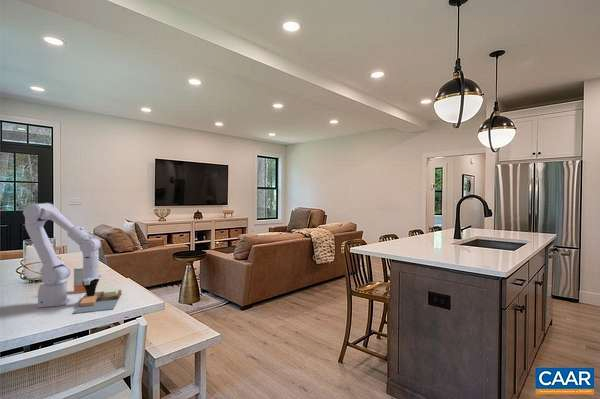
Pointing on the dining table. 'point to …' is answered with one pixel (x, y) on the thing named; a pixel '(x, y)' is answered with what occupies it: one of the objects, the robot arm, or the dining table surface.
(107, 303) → the mat
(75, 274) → the skincare box
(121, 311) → the dining table surface
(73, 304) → the dining table surface
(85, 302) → the tile terracotta
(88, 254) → the robot arm
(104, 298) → the riser
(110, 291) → the tile sage
